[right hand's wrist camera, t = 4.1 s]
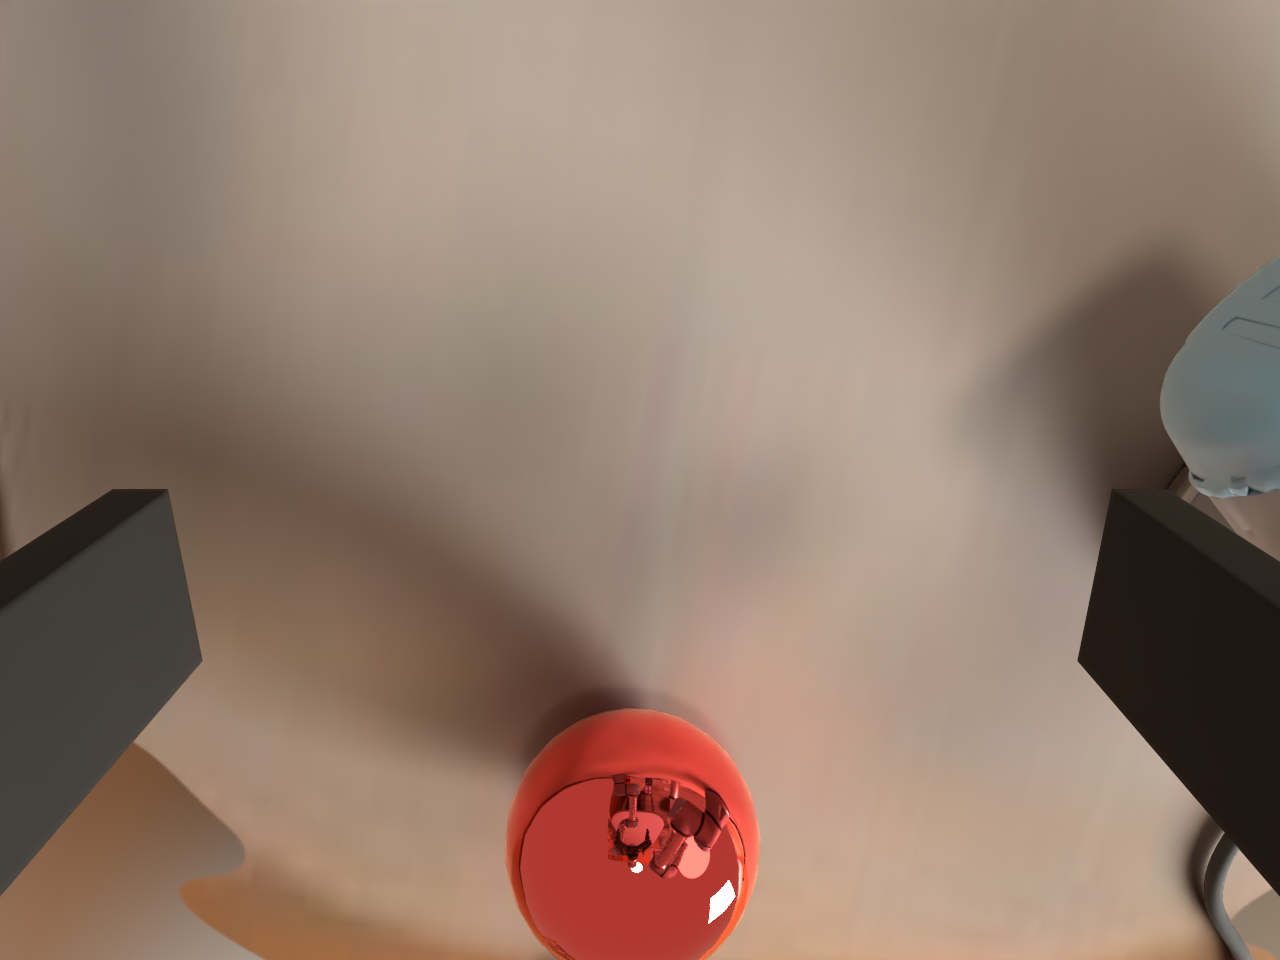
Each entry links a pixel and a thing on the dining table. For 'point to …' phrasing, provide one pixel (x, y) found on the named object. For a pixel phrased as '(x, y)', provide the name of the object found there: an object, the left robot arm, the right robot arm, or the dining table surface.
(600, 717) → the ball
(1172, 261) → the dining table surface
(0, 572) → the right robot arm
